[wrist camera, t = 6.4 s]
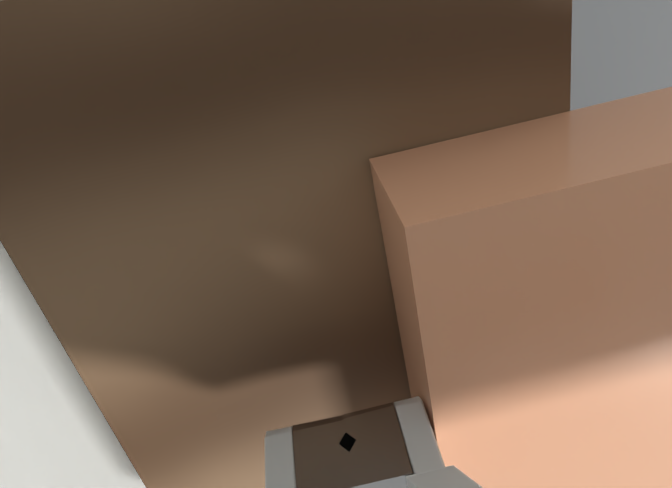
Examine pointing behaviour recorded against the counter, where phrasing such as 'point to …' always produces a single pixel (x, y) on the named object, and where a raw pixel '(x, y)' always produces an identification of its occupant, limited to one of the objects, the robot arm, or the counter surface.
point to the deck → (238, 197)
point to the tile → (540, 294)
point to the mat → (619, 49)
